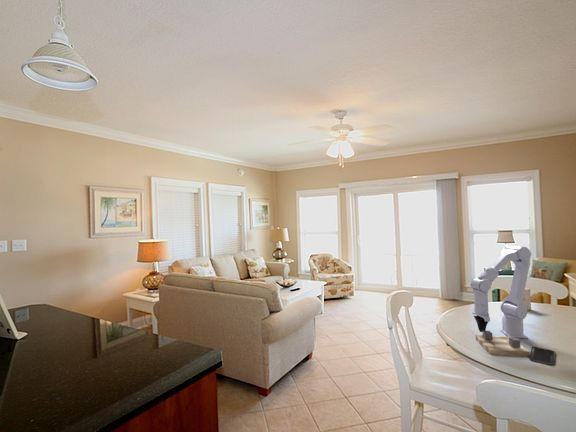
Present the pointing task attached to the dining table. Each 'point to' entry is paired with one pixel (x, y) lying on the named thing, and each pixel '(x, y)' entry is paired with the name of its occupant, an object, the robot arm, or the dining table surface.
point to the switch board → (501, 346)
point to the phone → (542, 356)
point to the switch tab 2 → (514, 342)
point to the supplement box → (527, 298)
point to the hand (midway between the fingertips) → (482, 331)
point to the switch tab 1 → (487, 335)
